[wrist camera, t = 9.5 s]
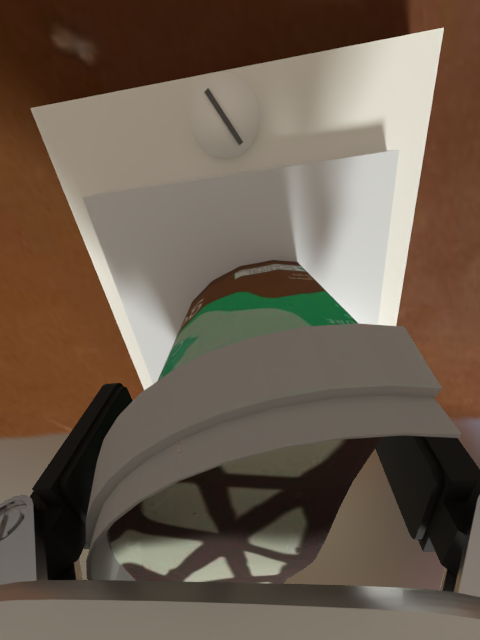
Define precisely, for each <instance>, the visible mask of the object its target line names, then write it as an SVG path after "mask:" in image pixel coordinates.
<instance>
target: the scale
mask: <svg viewBox="0 0 480 640" xmlns="http://www.w3.org/2000/svg"><path fill="white" fill-rule="evenodd" d="M443 31H444V28H440V29H435V30H429V31H424V32H419V33H414V34H409V35H404V36H399V37H393V38H388V39H383V40H378V41H373V42H368V43H363V44H357V45H352V46H347V47H342V48H337V49H332V50H327V51H322V52H316V53H311V54H306V55H301V56H296V57H291V58H286V59H280V60H275V61H270V62H265V63H260V64H255V65H250V66H244V67H239V68H234V69H229V70H224V71H219V72H214V73H208V74H203V75H198V76H193V77H188V78H183V79H178V80H173V81H167V82H162V83H157V84H152V85H147V86H142V87H137V88H131V89H126V90H121V91H116V92H111V93H106V94H101V95H95V96H90V97H85V98H80V99H75V100H70V101H65V102H60V103H54V104H49V105H44V106H39V107H34V108H30V109H31V111H32V114H33V116H34V119H35V121H36V124H37V126H38V129H39V131H40V134H41V136H42V139H43V141H44V144H45V146H46V149H47V151H48V153H49V156H50V158H51V161H52V163H53V166H54V168H55V171H56V173H57V176H58V178H59V181H60V183H61V186H62V188H63V190H64V193H65V195H66V198H67V200H68V203H69V205H70V208H71V210H72V213H73V215H74V218H75V220H76V223H77V225H78V228H79V230H80V232H81V235H82V237H83V240H84V242H85V245H86V247H87V250H88V252H89V255H90V257H91V260H92V262H93V265H94V267H95V270H96V272H97V274H98V277H99V279H100V282H101V284H102V287H103V289H104V292H105V294H106V297H107V299H108V302H109V304H110V307H111V309H112V311H113V314H114V316H115V319H116V321H117V324H118V326H119V329H120V331H121V334H122V336H123V339H124V341H125V344H126V346H127V349H128V351H129V353H130V356H131V358H132V361H133V363H134V366H135V368H136V371H137V373H138V376H139V378H140V381H141V383H142V386H143V388H144V390H146V389H147V388H148V387H150V386H151V385H153V384H154V383H156V382H157V381H158V379H159V376H160V374H161V372H162V369H163V367H164V365H165V362H166V360H167V358H168V355H169V353H170V351H171V349H172V346H173V344H174V342H175V339H176V337H177V335H178V332H179V330H180V328H181V325H182V323H183V321H184V318H185V316H186V314H187V312H188V310H189V308H190V305H191V303H192V301H193V300H194V299H195V298H196V297H197V296H198V295H199V294H200V293H201V292H202V291H203V290H204V289H205V288H206V287H207V285H208V284H209V283H210V282H211V281H213V280H214V279H216V278H218V277H220V276H222V275H224V274H226V273H228V272H230V271H232V270H234V269H235V268H237V267H239V266H243V265H249V264H254V263H259V262H265V261H270V260H279V261H291V262H298V263H299V264H300V265H301V266H302V267H303V268H304V269H305V270H306V271H307V272H308V273H309V274H310V275H311V276H312V277H313V278H314V279H315V280H316V281H317V282H318V283H319V284H320V285H321V286H322V287H323V288H324V289H325V290H326V291H327V292H328V293H329V294H330V295H331V296H332V297H333V298H334V299H335V300H336V301H337V302H338V303H339V304H340V305H341V306H342V307H343V308H344V309H345V310H346V311H347V312H348V313H349V314H350V315H351V316H352V317H353V318H354V319H355V320H356V321H357V322H358V323H359V324H373V325H388V326H396V323H397V317H398V311H399V305H400V298H401V292H402V286H403V280H404V273H405V267H406V261H407V255H408V249H409V242H410V236H411V230H412V224H413V217H414V211H415V205H416V199H417V192H418V186H419V180H420V174H421V168H422V161H423V155H424V149H425V143H426V136H427V130H428V124H429V118H430V112H431V105H432V99H433V93H434V87H435V80H436V74H437V68H438V62H439V55H440V49H441V43H442V37H443Z"/></svg>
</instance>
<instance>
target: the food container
mask: <svg viewBox="0 0 480 640" xmlns="http://www.w3.org/2000/svg"><path fill="white" fill-rule="evenodd" d="M441 389H442V387H441V386H440V384H439V383H438V381H437V379H436V378H435V376H434V374H433V373H432V371H431V370H430V368H429V366H428V365H427V363H426V361H425V360H424V358H423V357H422V355H421V353H420V352H419V350H418V349H417V347H416V345H415V344H414V342H413V340H412V339H411V337H410V336H409V334H408V332H407V331H406V329H405V327H402V326H388V325H373V324H359V323H358V322H357V321H356V320H355V319H354V318H353V317H352V316H351V315H350V314H349V313H348V312H347V311H346V310H345V309H344V308H343V307H342V306H341V305H340V304H339V303H338V302H337V301H336V300H335V299H334V298H333V297H332V296H331V295H330V294H329V293H328V292H327V291H326V290H325V289H324V288H323V287H322V286H321V285H320V284H319V283H318V282H317V281H316V280H315V279H314V278H313V277H312V276H311V275H310V274H309V273H308V272H307V271H306V270H305V269H304V268H303V267H302V266H301V265H300V264H299V263H298V262H291V261H279V260H270V261H265V262H259V263H254V264H249V265H243V266H239V267H237V268H235V269H234V270H232V271H230V272H228V273H226V274H224V275H222V276H220V277H218V278H216V279H214V280H213V281H211V282H210V283H209V284H208V285H207V287H206V288H205V289H204V290H203V291H202V292H201V293H200V294H199V295H198V296H197V297H196V298H195V299H194V300H193V301H192V303H191V305H190V308H189V310H188V312H187V314H186V316H185V318H184V321H183V323H182V325H181V328H180V330H179V332H178V335H177V337H176V339H175V342H174V344H173V346H172V349H171V351H170V353H169V355H168V358H167V360H166V362H165V365H164V367H163V369H162V372H161V374H160V376H159V379H158V381H157V382H156V383H154V384H153V385H151V386H150V387H148V388H147V389H146V390H144V391H143V392H141V393H140V394H139V395H138V396H137V397H136V398H135V399H134V400H133V401H132V402H131V403H130V404H129V405H128V407H127V408H126V409H125V410H124V411H123V412H122V413H121V414H120V415H119V416H118V417H117V419H116V420H115V422H114V424H113V425H112V427H111V428H110V430H109V432H108V433H107V435H106V436H105V438H104V440H103V443H102V447H101V450H100V453H99V456H98V460H97V464H96V469H95V475H94V480H93V485H92V491H91V496H90V501H89V507H88V512H87V517H86V543H87V545H88V548H89V553H88V557H87V561H86V562H87V579H88V580H122V581H180V582H227V583H271V584H283V583H284V582H285V581H286V579H288V578H290V577H291V576H293V575H294V574H296V573H298V572H299V571H301V570H303V569H304V568H306V567H307V566H308V565H309V564H311V563H312V562H313V561H314V560H315V558H316V557H317V555H318V553H319V551H320V549H321V547H322V545H323V544H324V541H325V540H326V538H327V535H328V533H329V531H330V528H331V526H332V524H333V521H334V519H335V517H336V514H337V512H338V510H339V507H340V505H341V503H342V501H343V499H344V497H345V496H346V494H347V492H348V490H349V488H350V486H351V484H352V482H353V480H354V479H355V477H356V476H357V474H358V473H359V471H360V470H361V468H362V467H363V465H364V464H365V463H366V461H367V459H368V458H369V457H370V455H371V453H372V452H373V451H374V449H375V448H376V446H377V445H378V443H379V442H380V440H381V439H382V438H383V437H386V436H402V435H406V436H427V437H448V438H459V437H460V436H461V433H460V431H459V430H458V429H457V427H456V426H455V425H454V424H453V422H452V421H451V419H450V418H449V417H448V415H447V414H446V413H445V412H444V410H443V409H442V408H441V406H440V405H439V404H438V402H437V401H436V400H435V398H434V397H435V396H437V395H438V394H439V392H440V391H441Z"/></svg>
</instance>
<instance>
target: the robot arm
mask: <svg viewBox="0 0 480 640" xmlns="http://www.w3.org/2000/svg"><path fill="white" fill-rule="evenodd" d="M131 402H132V399H131V396H130V394H129V392H128V390H127V388H126V387H123V385H122V384H121V383H114V384H105V385H103V386H102V388H101V389H100V391H99V392H98V394H97V395H96V396H95V398H94V399H93V401H92V402H91V404H90V405H89V407H88V408H87V410H86V411H85V412H84V414H83V415H82V417H81V418H80V420H79V421H78V423H77V424H76V426H75V427H74V429H73V430H72V431H71V433H70V434H69V436H68V437H67V439H66V440H65V442H64V443H63V445H62V446H61V448H60V449H59V450H58V452H57V453H56V455H55V456H54V458H53V459H52V461H51V462H50V464H49V465H48V467H47V468H46V469H45V471H44V472H43V474H42V475H41V477H40V478H39V480H38V481H37V483H36V484H35V485H34V487H33V488H32V489H33V490H34V491H33V493H32V494H31V496H30V497H29V496H26V495H19V496H15V497H12V498H10V499H8V500H6V501H4V502H3V503H1V504H0V640H480V469H479V468H478V466H477V465H476V464H475V462H474V461H473V459H472V458H471V457H470V455H469V454H468V452H467V451H466V450H465V448H464V447H463V445H462V444H461V442H460V441H459V440H458V438H448V437H427V436H406V435H402V436H386V437H383V438H382V439H381V440H380V442H379V443H378V445H377V446H376V448H375V449H376V451H377V454H378V456H379V459H380V461H381V464H382V466H383V468H384V471H385V474H386V476H387V478H388V481H389V484H390V486H391V489H392V491H393V494H394V496H395V499H396V501H397V504H398V506H399V509H400V511H401V514H402V516H403V519H404V521H405V524H406V526H407V528H408V531H409V533H410V535H411V537H412V538H413V539H418V541H419V543H420V545H421V548H422V550H423V552H436V554H437V556H438V558H439V560H440V563H441V564H442V565H443V566H444V567H445V571H444V575H443V580H442V583H441V587H440V591H438V590H428V589H415V588H394V587H372V586H345V585H343V586H342V585H308V584H307V585H306V584H271V583H227V582H180V581H122V580H83V578H82V571H81V565H80V559H79V557H80V555H81V553H82V550H83V548H84V549H89V548H88V545H87V543H86V517H87V512H88V507H89V501H90V496H91V491H92V485H93V480H94V475H95V469H96V464H97V460H98V456H99V453H100V450H101V447H102V443H103V440H104V438H105V436H106V435H107V433H108V432H109V430H110V428H111V427H112V425H113V424H114V422H115V420H116V419H117V417H118V416H119V415H120V414H121V413H122V412H123V411H124V410H125V409H126V408H127V407H128V405H129V404H130V403H131Z"/></svg>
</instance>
